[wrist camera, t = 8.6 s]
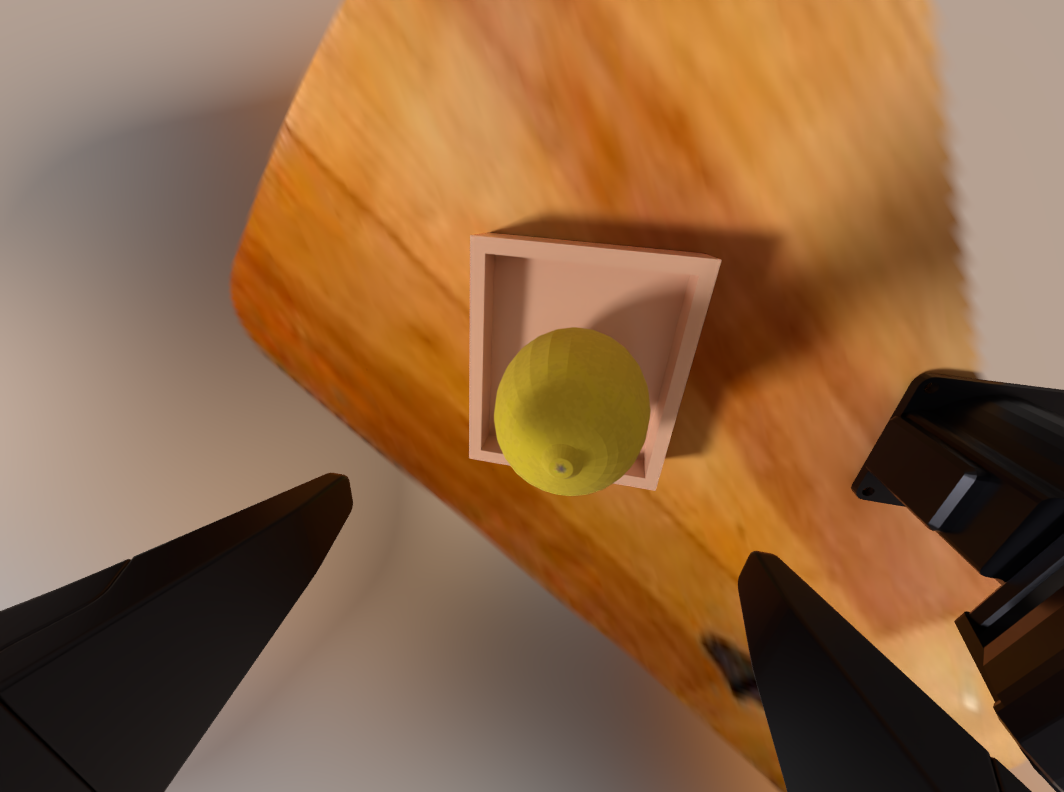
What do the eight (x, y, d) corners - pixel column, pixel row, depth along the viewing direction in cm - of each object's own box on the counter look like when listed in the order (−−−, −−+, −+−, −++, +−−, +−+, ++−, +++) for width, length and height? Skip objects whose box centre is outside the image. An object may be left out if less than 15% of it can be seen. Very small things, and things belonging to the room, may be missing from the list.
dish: (705, 253, 15) (721, 259, 13) (650, 460, 20) (655, 490, 18) (488, 232, 17) (470, 235, 14) (483, 432, 21) (469, 458, 19)
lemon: (665, 372, 17) (711, 485, 10) (574, 439, 19) (556, 570, 12) (583, 280, 16) (565, 330, 9) (496, 362, 18) (426, 456, 11)
